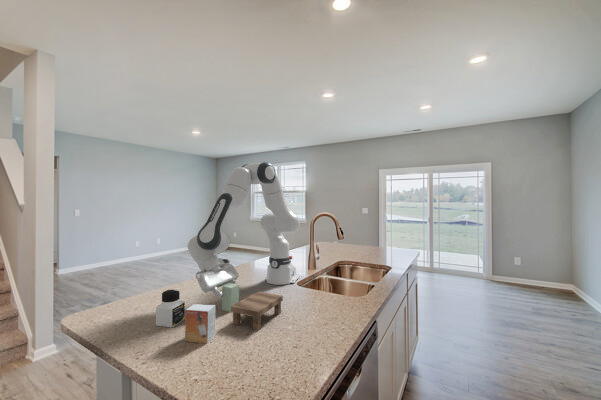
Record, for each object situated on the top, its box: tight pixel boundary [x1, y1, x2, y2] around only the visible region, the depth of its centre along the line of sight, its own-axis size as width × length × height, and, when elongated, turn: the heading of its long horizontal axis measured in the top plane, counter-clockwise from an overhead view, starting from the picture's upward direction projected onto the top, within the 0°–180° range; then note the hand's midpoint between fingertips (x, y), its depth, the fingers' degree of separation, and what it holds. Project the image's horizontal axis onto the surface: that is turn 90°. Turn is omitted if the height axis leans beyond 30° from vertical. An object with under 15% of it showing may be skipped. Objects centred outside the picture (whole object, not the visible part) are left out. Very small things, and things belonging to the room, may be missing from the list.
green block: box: [221, 283, 240, 313], centre depth 114 cm, size 5×5×10 cm
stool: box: [230, 291, 284, 332], centre depth 105 cm, size 18×12×7 cm, turn 155°
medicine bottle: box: [155, 288, 186, 328], centre depth 101 cm, size 7×7×12 cm
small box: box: [184, 303, 216, 345], centre depth 89 cm, size 8×6×10 cm
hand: (229, 292), depth 114 cm, fingers open, 8 cm apart
